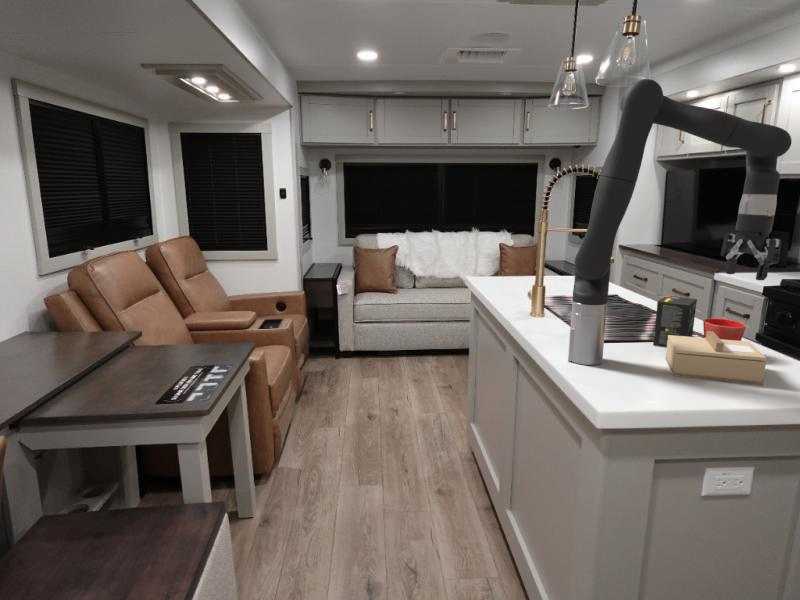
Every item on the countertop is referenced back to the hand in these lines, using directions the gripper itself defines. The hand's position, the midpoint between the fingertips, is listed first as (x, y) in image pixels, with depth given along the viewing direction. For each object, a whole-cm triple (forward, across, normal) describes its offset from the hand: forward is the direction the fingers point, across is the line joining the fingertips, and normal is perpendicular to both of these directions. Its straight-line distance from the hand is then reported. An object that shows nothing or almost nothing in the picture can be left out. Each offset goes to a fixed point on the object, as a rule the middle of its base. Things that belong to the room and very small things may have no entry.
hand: (744, 276), depth 131 cm
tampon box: (+27, -26, +6) cm, 38 cm away
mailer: (+26, -3, -3) cm, 26 cm away
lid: (+20, -3, -3) cm, 20 cm away
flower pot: (+26, -14, +12) cm, 32 cm away
